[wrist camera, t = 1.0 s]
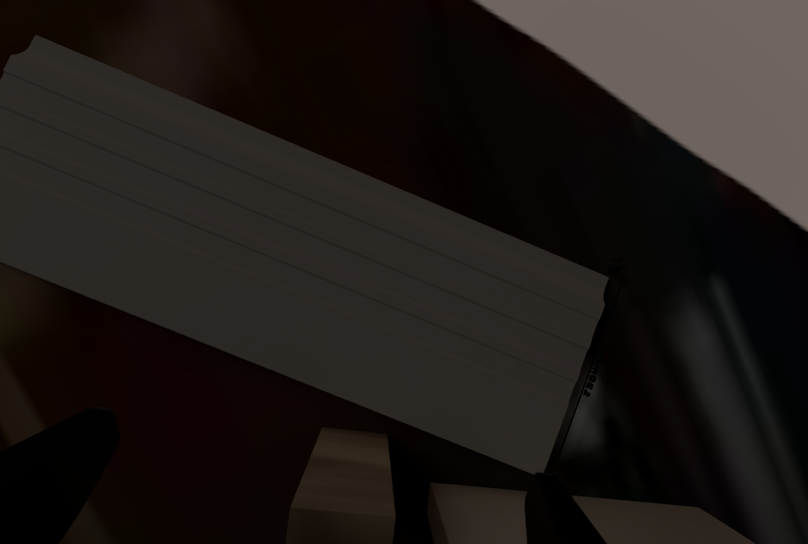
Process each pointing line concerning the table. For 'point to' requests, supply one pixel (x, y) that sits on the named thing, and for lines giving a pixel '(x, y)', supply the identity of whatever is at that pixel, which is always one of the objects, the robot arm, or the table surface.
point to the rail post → (345, 492)
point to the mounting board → (614, 519)
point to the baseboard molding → (289, 258)
